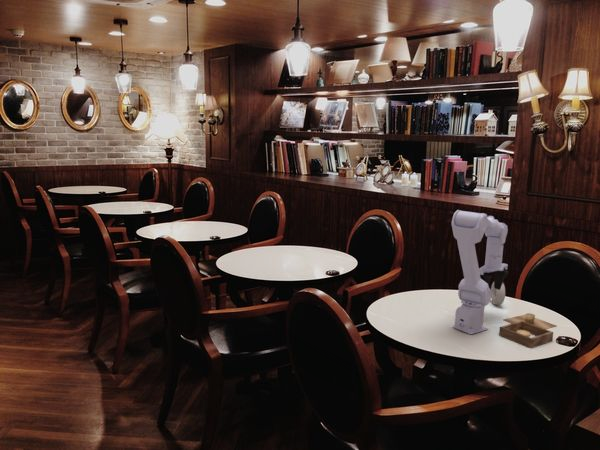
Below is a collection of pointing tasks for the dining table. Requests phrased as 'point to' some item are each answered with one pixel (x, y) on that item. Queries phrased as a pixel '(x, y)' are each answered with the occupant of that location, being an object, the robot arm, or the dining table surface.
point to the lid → (530, 321)
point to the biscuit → (524, 332)
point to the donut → (498, 294)
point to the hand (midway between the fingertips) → (490, 290)
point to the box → (511, 334)
